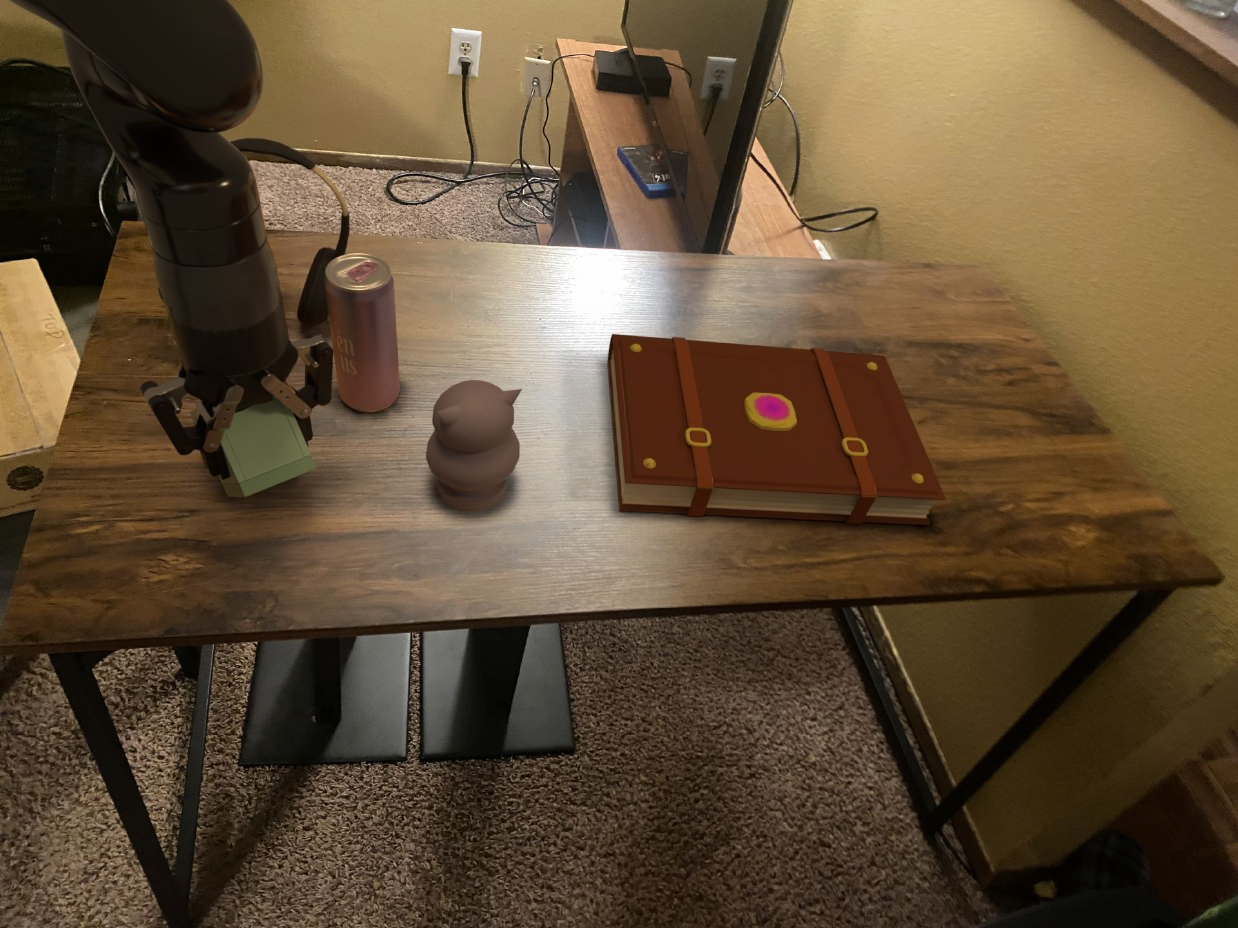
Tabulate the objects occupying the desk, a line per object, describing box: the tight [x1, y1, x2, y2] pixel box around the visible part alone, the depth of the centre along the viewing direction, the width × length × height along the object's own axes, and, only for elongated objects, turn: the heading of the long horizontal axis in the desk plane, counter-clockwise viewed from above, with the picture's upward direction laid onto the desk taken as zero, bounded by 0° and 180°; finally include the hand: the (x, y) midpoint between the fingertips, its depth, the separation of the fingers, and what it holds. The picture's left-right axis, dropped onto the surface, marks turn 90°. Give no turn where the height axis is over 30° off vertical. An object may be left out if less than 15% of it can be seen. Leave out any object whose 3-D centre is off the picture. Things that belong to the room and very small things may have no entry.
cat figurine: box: [425, 379, 523, 513], centre depth 74 cm, size 8×8×12 cm
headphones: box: [229, 137, 351, 328], centre depth 84 cm, size 9×15×20 cm, turn 90°
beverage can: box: [324, 252, 401, 413], centre depth 79 cm, size 6×6×15 cm
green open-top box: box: [189, 396, 317, 498], centre depth 71 cm, size 8×6×9 cm
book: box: [607, 333, 947, 526], centre depth 87 cm, size 23×32×5 cm
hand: (262, 456), depth 70 cm, fingers closed on green open-top box, 6 cm apart
